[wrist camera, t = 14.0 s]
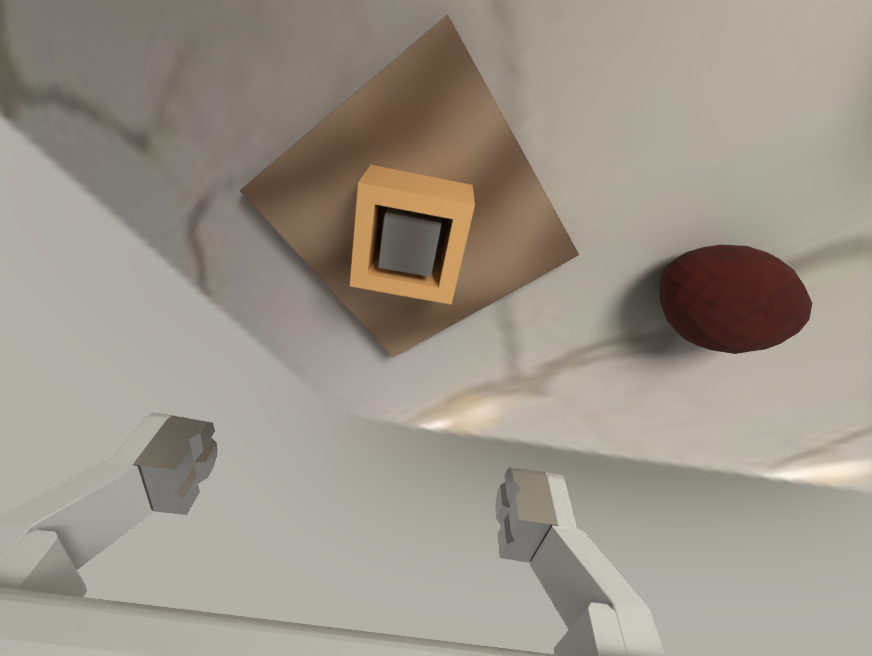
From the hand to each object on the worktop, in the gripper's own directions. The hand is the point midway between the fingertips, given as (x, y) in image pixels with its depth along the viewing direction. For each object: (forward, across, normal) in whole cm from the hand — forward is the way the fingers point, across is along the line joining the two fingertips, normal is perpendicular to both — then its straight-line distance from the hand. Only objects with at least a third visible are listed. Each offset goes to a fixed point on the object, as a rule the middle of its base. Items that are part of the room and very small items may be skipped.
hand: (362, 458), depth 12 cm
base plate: (+21, 0, 0) cm, 21 cm away
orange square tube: (+20, 0, 0) cm, 20 cm away
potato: (+21, -22, +1) cm, 31 cm away
